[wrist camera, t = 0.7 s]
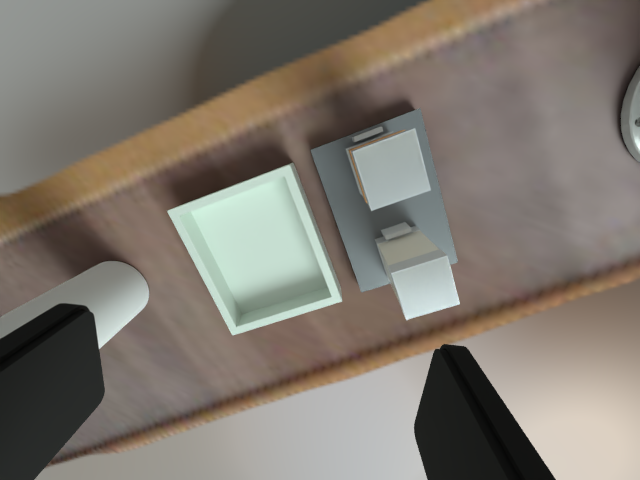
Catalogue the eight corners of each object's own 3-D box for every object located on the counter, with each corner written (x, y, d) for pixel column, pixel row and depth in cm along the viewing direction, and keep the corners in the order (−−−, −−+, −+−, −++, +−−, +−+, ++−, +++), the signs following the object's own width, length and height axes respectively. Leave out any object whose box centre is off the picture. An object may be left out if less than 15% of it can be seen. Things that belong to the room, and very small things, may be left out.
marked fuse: (389, 131, 27) (415, 128, 19) (402, 176, 28) (430, 190, 20) (345, 148, 27) (352, 151, 19) (359, 192, 28) (371, 210, 21)
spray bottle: (97, 315, 35) (-403, 694, 11) (81, 260, 33) (-577, 582, 9) (155, 314, 34) (-225, 699, 11) (143, 259, 32) (-360, 584, 9)
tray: (293, 162, 29) (289, 164, 26) (340, 287, 33) (342, 301, 30) (182, 204, 30) (167, 210, 28) (240, 319, 34) (232, 335, 32)
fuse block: (415, 109, 27) (427, 105, 24) (451, 256, 32) (466, 270, 28) (311, 149, 29) (309, 150, 25) (359, 285, 33) (363, 302, 30)
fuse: (415, 225, 29) (447, 255, 22) (426, 263, 30) (459, 304, 23) (374, 239, 30) (391, 273, 22) (386, 275, 31) (406, 319, 23)
